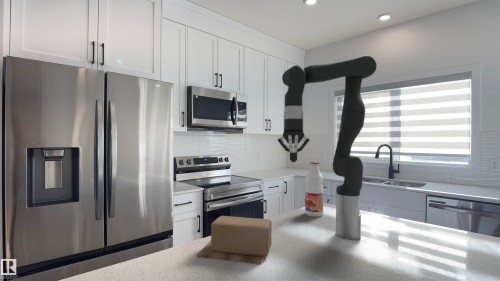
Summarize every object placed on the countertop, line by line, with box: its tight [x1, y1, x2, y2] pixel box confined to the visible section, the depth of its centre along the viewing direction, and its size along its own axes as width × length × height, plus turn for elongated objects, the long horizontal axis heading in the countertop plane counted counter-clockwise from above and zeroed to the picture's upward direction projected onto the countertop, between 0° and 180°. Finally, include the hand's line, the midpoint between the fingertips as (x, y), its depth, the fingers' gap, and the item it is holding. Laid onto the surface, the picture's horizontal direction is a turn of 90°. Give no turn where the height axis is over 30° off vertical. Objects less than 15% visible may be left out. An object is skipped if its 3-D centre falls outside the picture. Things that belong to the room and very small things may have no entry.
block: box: [210, 215, 273, 258], centre depth 92 cm, size 10×10×20 cm
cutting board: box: [196, 239, 265, 265], centre depth 93 cm, size 22×16×1 cm
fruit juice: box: [304, 160, 324, 218], centre depth 138 cm, size 9×9×28 cm
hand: (293, 162), depth 103 cm, fingers closed
